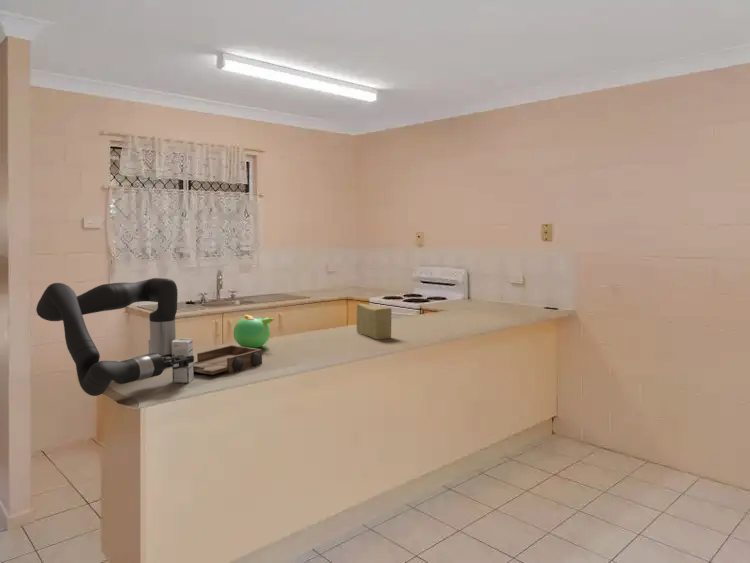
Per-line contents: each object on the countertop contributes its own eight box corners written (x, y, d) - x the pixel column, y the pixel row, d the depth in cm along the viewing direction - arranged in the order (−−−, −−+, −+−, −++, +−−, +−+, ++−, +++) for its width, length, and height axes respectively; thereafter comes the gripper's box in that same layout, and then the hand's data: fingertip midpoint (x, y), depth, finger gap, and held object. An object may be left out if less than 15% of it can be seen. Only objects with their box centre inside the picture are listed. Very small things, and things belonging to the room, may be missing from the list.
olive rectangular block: (349, 333, 291) (349, 303, 289) (365, 331, 296) (365, 302, 295) (376, 340, 273) (376, 308, 272) (392, 338, 279) (392, 307, 277)
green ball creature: (231, 344, 259) (230, 312, 258) (268, 342, 265) (268, 310, 264) (236, 353, 243) (235, 318, 241) (276, 350, 249) (276, 316, 247)
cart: (196, 367, 217) (195, 353, 217) (230, 358, 233) (229, 344, 232) (230, 373, 208) (230, 358, 208) (263, 363, 224) (263, 349, 224)
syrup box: (194, 378, 201) (193, 337, 200) (189, 383, 195) (188, 341, 194) (177, 378, 201) (176, 337, 199) (172, 383, 195) (171, 341, 194)
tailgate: (180, 369, 209) (180, 364, 209) (197, 364, 216) (197, 359, 216) (211, 374, 202) (211, 369, 202) (228, 369, 209) (228, 365, 208)
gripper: (130, 375, 187) (170, 365, 201) (160, 381, 180) (199, 370, 195) (129, 352, 187) (169, 344, 201) (159, 358, 180) (199, 348, 194)
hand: (184, 357), depth 198 cm, fingers open, 8 cm apart
